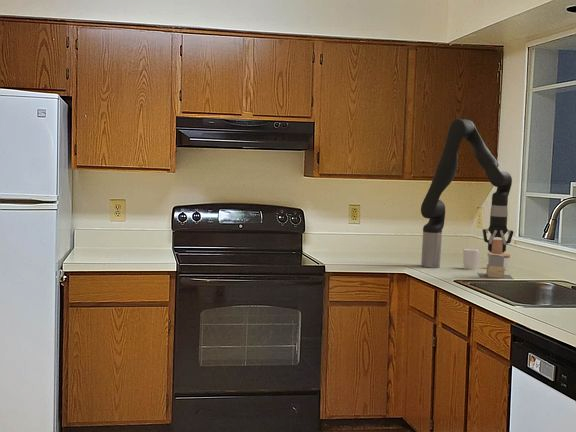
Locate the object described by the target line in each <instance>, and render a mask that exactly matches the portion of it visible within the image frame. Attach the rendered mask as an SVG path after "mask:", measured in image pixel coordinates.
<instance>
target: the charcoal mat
mask: <svg viewBox="0 0 576 432" xmlns="http://www.w3.org/2000/svg"><path fill="white" fill-rule="evenodd" d="M476 274H477V275H478V277H479V278H483V279H495V280H496V279H498V280H499V279H501V280H515V279H514V278H513V276H511V274H504V278H499V277H488V276H487V275H486V273H482V272H476Z"/></svg>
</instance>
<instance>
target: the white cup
mask: <svg viewBox="0 0 576 432" xmlns="http://www.w3.org/2000/svg"><path fill="white" fill-rule="evenodd" d="M462 251H463V252H462V253H463V255H462V264H463V265H462V266H463V269H465V270H473V271H476V270H478V269H479V263H480V255H481V254H480V253H481V250H480V249H476V248H464V249H463V250H462Z"/></svg>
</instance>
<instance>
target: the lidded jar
mask: <svg viewBox="0 0 576 432" xmlns="http://www.w3.org/2000/svg"><path fill="white" fill-rule="evenodd" d="M489 254H490V255H503V256H504V267H505V270H506V269H507V268H508V267H509V263H510V258H511V255H510V254H509V253H505V252H504V253H502V254H494V253H491V252H488V253H487V261H488V260H489Z"/></svg>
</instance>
